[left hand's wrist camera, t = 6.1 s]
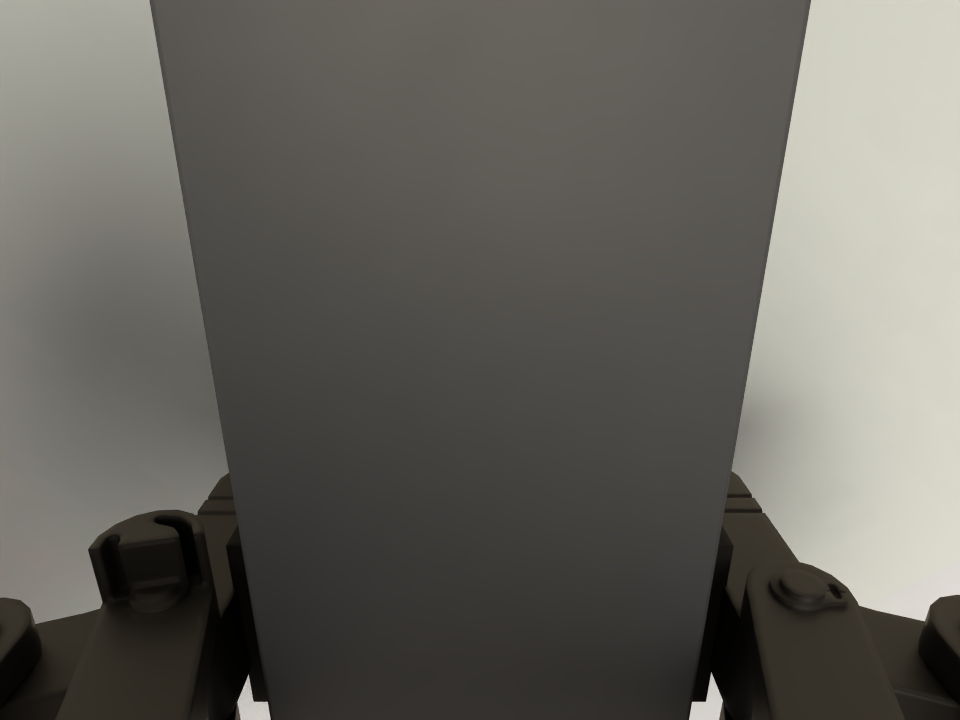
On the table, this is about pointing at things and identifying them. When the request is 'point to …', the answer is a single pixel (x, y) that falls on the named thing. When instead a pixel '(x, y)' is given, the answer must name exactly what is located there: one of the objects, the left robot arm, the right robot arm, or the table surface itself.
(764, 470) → the table surface
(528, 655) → the beam
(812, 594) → the left robot arm
